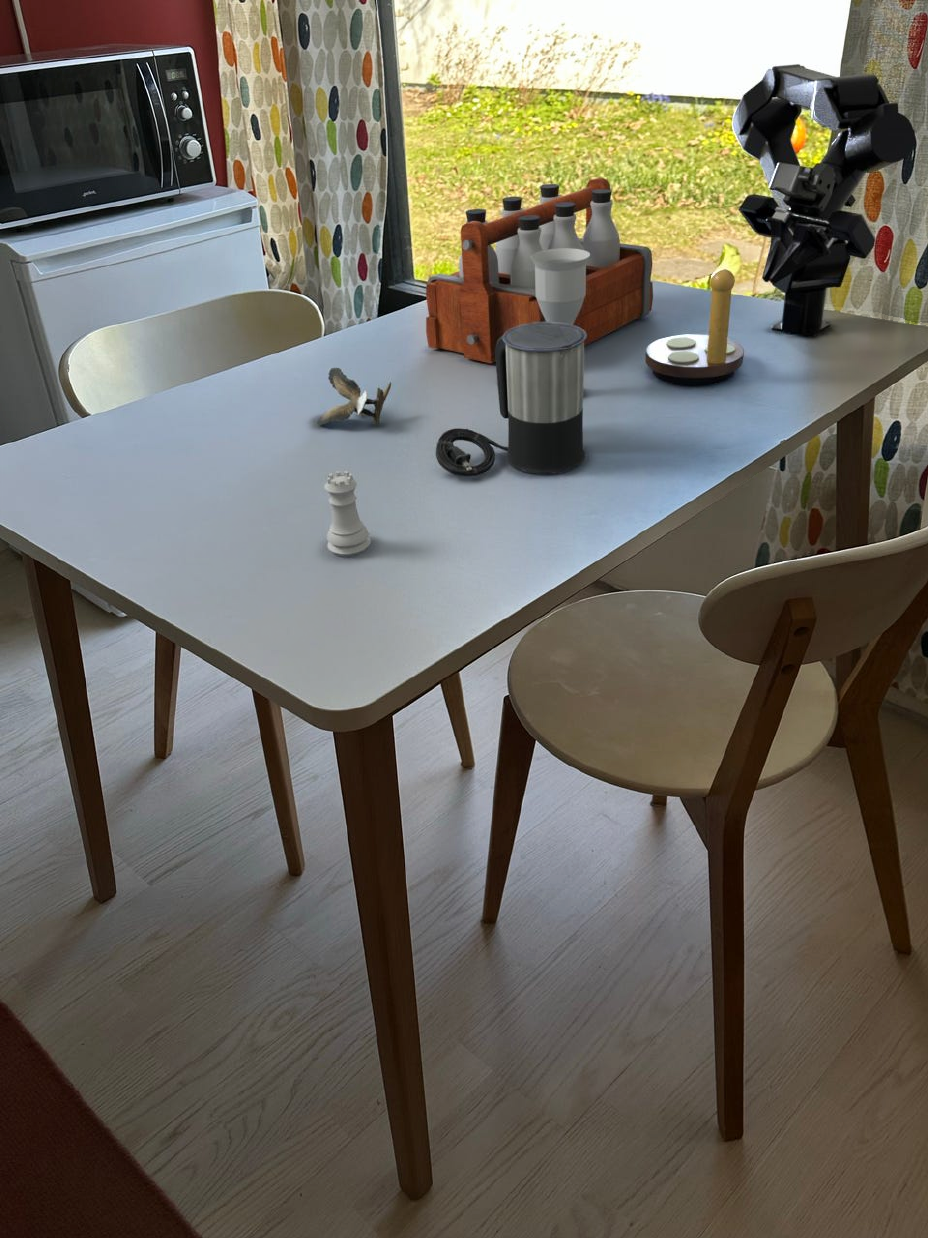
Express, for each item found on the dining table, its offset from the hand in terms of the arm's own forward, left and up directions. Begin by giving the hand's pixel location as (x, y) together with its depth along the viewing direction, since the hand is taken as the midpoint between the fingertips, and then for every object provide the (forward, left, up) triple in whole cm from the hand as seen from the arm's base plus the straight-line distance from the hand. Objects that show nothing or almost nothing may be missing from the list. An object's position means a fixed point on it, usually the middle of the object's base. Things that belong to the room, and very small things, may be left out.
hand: (767, 281), depth 135 cm
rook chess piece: (+68, -10, -12) cm, 69 cm away
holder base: (+6, -7, -12) cm, 15 cm away
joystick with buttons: (+6, -7, -10) cm, 13 cm away
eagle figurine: (+45, -34, -12) cm, 57 cm away
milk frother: (+43, -9, -12) cm, 45 cm away
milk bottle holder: (+4, -35, -12) cm, 37 cm away
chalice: (+23, -17, -12) cm, 31 cm away
